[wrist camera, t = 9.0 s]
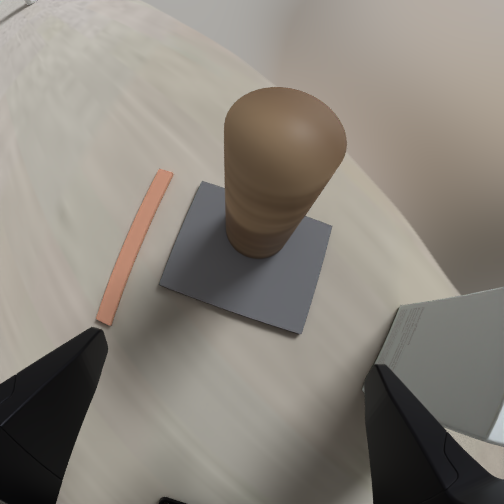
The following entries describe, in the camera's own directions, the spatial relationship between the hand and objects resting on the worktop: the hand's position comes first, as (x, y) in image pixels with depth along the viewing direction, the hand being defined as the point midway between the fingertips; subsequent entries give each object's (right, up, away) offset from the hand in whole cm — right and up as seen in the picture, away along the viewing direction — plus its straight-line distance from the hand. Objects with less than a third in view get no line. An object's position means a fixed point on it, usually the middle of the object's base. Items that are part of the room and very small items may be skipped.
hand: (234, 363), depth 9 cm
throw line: (-8, +4, +11) cm, 14 cm away
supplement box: (+13, -5, +11) cm, 18 cm away
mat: (0, +3, +12) cm, 12 cm away
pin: (+1, +5, +12) cm, 13 cm away
